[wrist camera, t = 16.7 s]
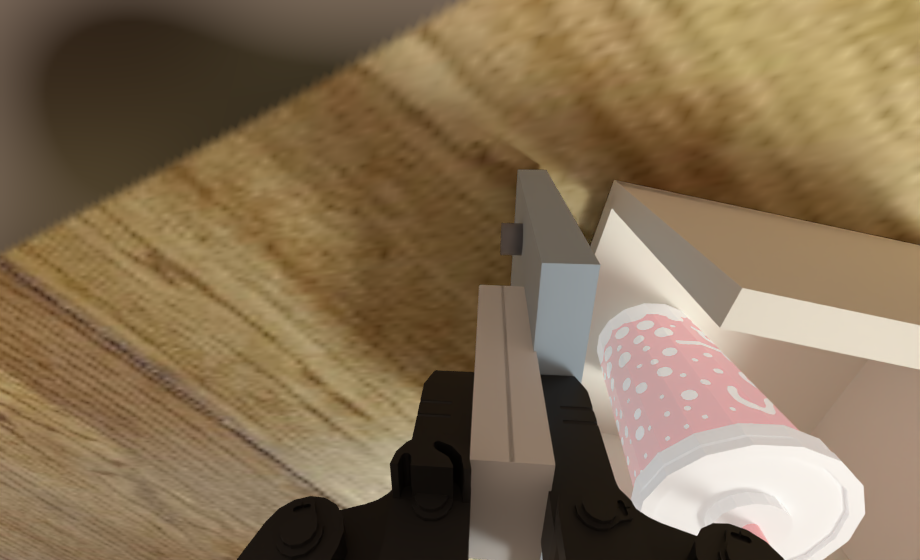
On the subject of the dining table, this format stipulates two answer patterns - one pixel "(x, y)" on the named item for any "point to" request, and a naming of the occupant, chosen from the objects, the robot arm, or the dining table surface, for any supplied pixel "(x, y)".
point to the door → (552, 274)
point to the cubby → (783, 333)
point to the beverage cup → (718, 441)
